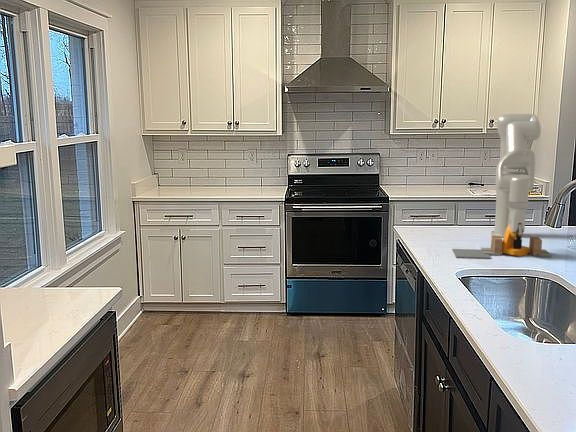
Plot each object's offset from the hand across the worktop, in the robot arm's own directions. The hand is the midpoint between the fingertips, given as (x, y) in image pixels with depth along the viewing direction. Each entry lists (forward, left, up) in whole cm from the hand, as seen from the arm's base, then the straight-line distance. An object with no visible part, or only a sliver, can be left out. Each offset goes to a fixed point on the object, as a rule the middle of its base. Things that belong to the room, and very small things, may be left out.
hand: (515, 246), depth 242 cm
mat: (+4, -19, -3) cm, 20 cm away
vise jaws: (0, 0, -3) cm, 3 cm away
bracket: (+1, 0, -3) cm, 3 cm away
